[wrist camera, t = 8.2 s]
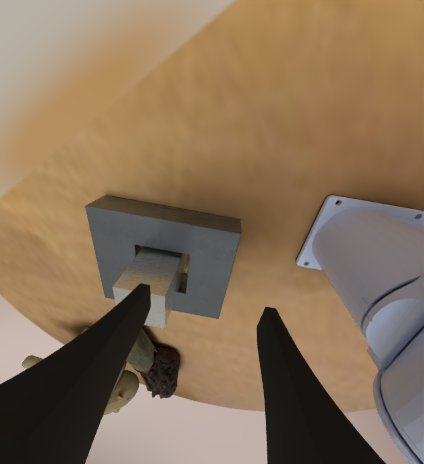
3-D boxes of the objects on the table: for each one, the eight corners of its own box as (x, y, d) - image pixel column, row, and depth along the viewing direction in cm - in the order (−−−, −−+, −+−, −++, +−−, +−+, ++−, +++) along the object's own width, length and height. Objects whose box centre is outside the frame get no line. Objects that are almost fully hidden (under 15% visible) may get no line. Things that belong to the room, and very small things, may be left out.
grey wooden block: (188, 239, 20) (164, 296, 13) (186, 267, 22) (164, 328, 15) (153, 233, 20) (112, 286, 14) (154, 261, 22) (118, 320, 16)
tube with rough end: (113, 313, 29) (88, 349, 24) (149, 306, 28) (131, 344, 23) (162, 370, 37) (151, 407, 32) (193, 368, 35) (186, 407, 30)
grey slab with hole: (240, 219, 18) (241, 233, 16) (220, 298, 24) (218, 319, 22) (105, 195, 19) (85, 205, 16) (118, 279, 25) (105, 297, 22)
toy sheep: (147, 365, 36) (115, 451, 26) (61, 341, 35) (-5, 421, 25) (156, 337, 31) (121, 432, 21) (56, 307, 30) (-30, 393, 20)
